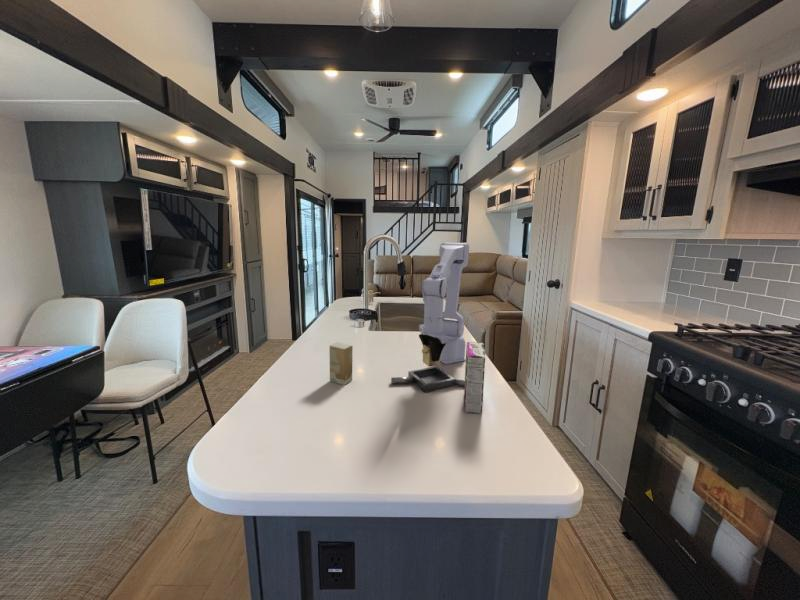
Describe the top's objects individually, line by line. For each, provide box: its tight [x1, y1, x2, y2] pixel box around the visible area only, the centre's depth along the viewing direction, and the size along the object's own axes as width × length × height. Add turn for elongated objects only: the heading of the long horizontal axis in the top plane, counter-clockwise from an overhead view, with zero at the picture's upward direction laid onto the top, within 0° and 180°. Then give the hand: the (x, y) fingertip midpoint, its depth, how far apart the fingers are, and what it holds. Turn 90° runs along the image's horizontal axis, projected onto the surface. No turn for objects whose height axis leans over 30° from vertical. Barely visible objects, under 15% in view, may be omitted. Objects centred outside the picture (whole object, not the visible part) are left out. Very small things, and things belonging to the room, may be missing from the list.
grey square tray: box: [407, 365, 457, 394], centre depth 103 cm, size 11×11×2 cm
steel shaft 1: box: [390, 376, 414, 385], centre depth 102 cm, size 7×2×2 cm, turn 96°
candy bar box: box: [463, 341, 486, 415], centre depth 89 cm, size 11×5×16 cm, turn 168°
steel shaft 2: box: [454, 378, 465, 388], centre depth 100 cm, size 7×2×2 cm, turn 76°
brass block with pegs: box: [421, 343, 441, 368], centre depth 101 cm, size 6×4×6 cm, turn 115°
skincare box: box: [329, 341, 353, 386], centre depth 102 cm, size 6×4×12 cm
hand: (431, 358), depth 102 cm, fingers closed on brass block with pegs, 4 cm apart
